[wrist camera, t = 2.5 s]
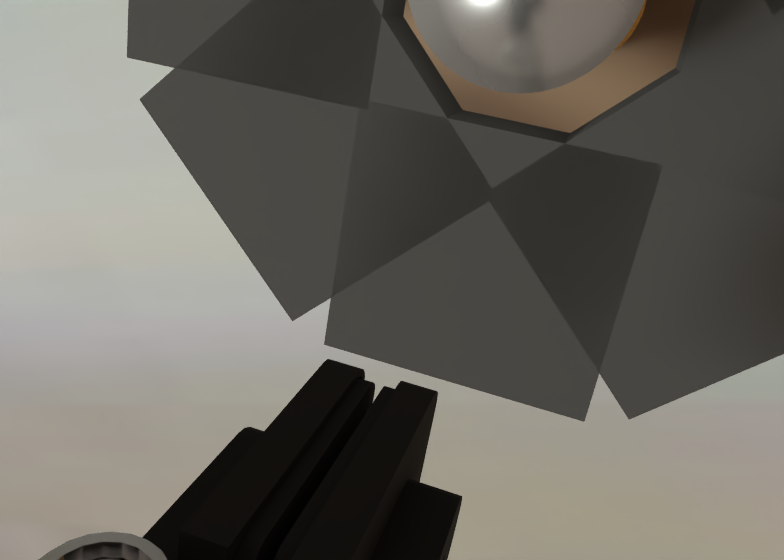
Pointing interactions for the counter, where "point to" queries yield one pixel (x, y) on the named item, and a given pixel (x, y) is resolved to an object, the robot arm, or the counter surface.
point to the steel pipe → (524, 38)
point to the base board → (594, 89)
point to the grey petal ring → (489, 198)
